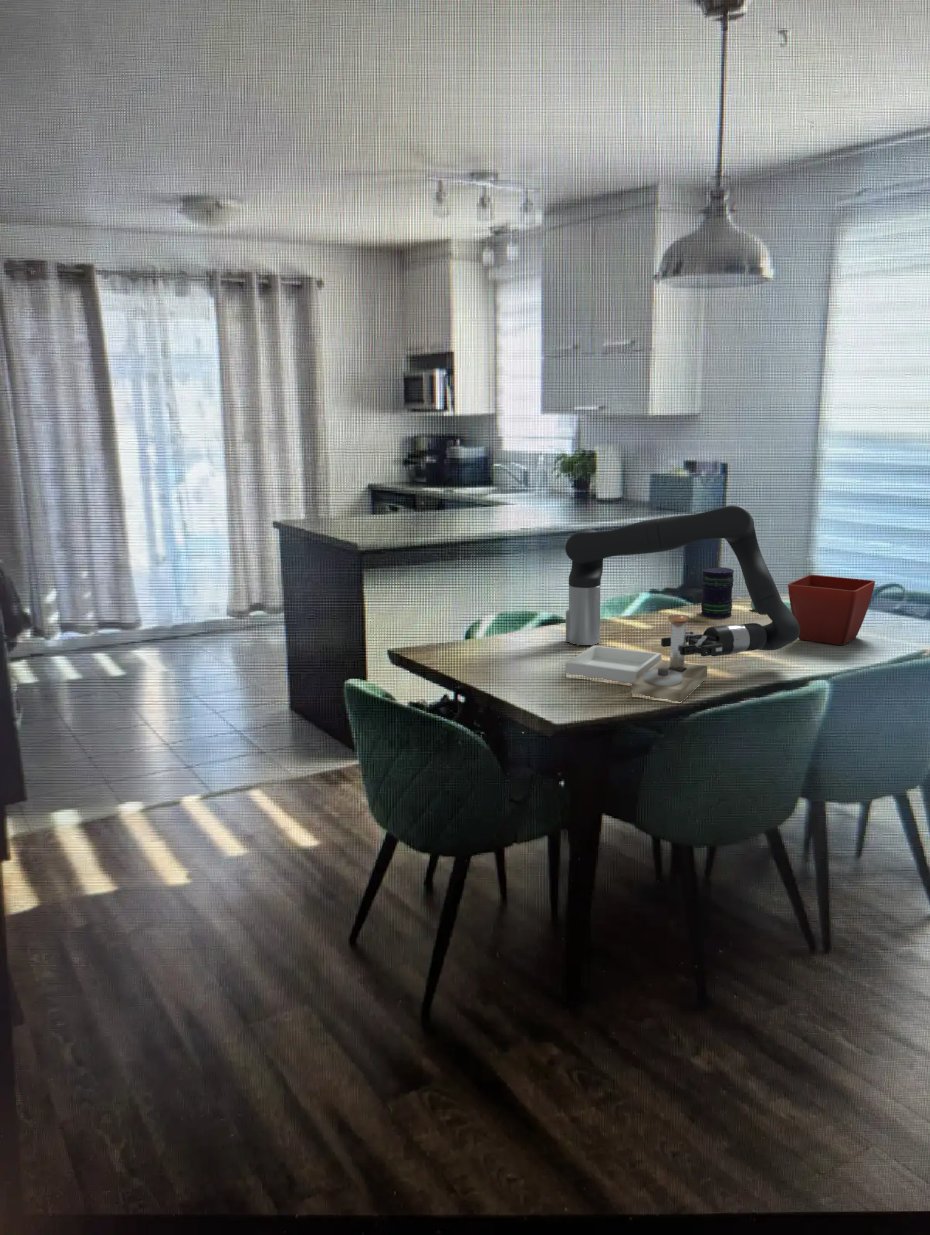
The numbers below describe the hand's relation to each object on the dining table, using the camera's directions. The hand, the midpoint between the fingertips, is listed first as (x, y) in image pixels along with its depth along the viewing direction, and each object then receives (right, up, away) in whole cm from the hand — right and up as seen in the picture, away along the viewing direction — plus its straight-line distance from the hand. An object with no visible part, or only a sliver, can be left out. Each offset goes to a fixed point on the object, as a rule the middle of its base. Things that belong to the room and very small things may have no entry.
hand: (671, 646), depth 227 cm
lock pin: (+2, -9, +3) cm, 10 cm away
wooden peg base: (-1, -10, -1) cm, 10 cm away
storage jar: (+31, +8, +73) cm, 80 cm away
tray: (-12, -7, +12) cm, 19 cm away
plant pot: (+55, +1, +41) cm, 69 cm away
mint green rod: (+53, +8, +71) cm, 89 cm away
